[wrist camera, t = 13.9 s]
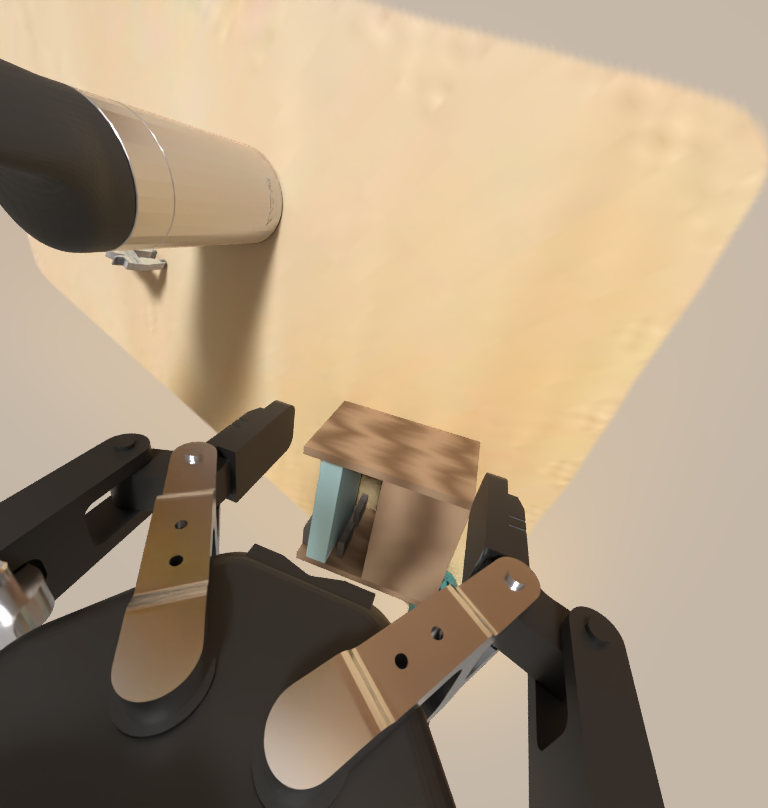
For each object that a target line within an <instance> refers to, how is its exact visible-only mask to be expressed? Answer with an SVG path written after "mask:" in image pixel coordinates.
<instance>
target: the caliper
mask: <svg viewBox="0 0 768 808" xmlns="http://www.w3.org/2000/svg"><path fill="white" fill-rule="evenodd" d="M156 253H157V252H156V251H155V250H154V249H143V250H127V251H109V252H106V257H108V258H111V259H113V261H112V265H123V266H124V267H125V269H129V270H139V271H149V270H158V269H163V268H164V265H165V263H166V261H165V260H161V259H153V258H155V256H156Z"/></svg>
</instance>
